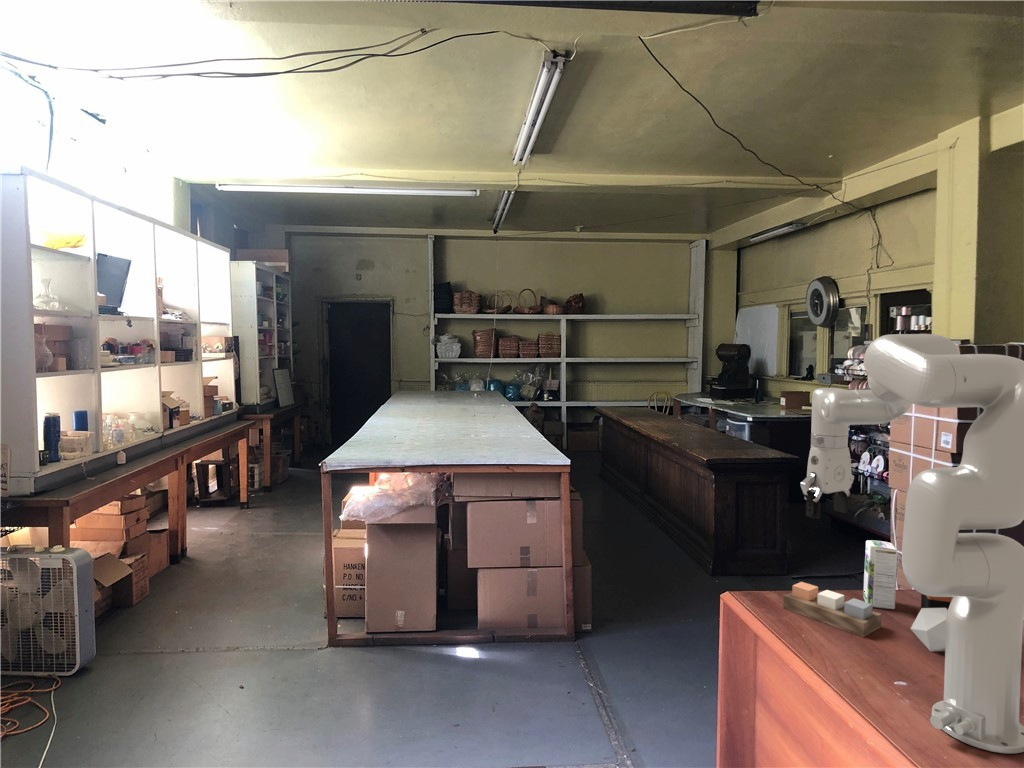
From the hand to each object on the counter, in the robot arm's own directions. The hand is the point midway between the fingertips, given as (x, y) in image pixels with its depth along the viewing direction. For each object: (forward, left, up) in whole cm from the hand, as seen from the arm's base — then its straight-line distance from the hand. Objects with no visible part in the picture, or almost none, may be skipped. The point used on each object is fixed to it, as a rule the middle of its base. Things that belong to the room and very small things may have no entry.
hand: (826, 514), depth 141 cm
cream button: (-3, -4, -20) cm, 21 cm away
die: (+4, -23, -23) cm, 32 cm away
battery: (+17, -15, -23) cm, 32 cm away
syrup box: (+14, -4, -23) cm, 27 cm away
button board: (-3, -4, -22) cm, 23 cm away
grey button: (-2, -10, -20) cm, 22 cm away
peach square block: (-4, +2, -20) cm, 21 cm away
